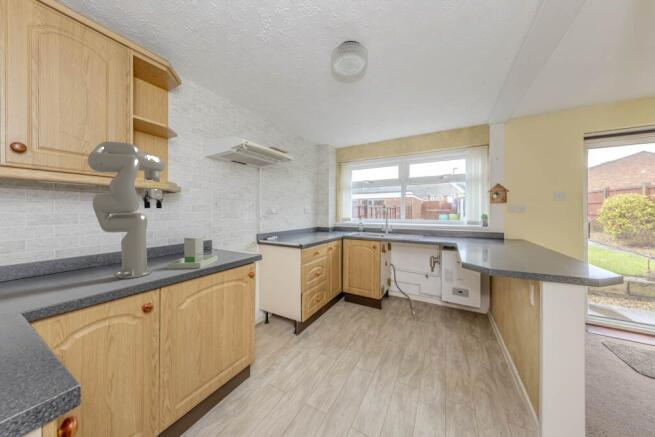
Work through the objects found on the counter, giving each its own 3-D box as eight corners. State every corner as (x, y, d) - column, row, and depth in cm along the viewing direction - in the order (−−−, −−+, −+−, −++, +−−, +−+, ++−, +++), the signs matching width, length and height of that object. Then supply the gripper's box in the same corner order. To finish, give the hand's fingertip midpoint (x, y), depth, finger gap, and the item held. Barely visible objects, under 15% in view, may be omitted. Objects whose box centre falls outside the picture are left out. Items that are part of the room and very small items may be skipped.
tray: (200, 268, 126) (200, 262, 126) (167, 268, 125) (167, 263, 125) (217, 260, 146) (217, 255, 146) (189, 260, 146) (188, 256, 146)
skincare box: (184, 263, 134) (183, 237, 133) (193, 261, 140) (192, 236, 139) (195, 264, 132) (194, 237, 131) (204, 261, 138) (203, 236, 138)
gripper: (147, 179, 133) (148, 208, 133) (167, 182, 150) (168, 208, 151) (134, 179, 133) (136, 208, 133) (156, 182, 150) (157, 208, 150)
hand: (153, 208), depth 142 cm, fingers open, 9 cm apart
